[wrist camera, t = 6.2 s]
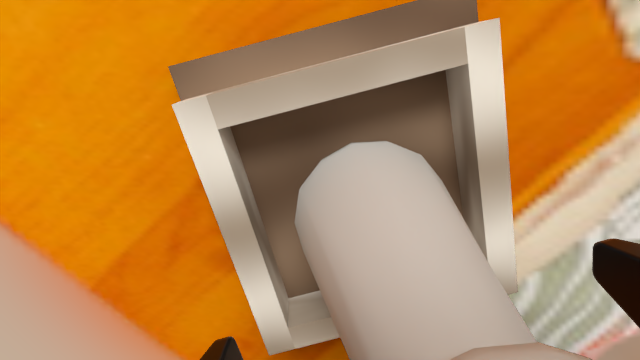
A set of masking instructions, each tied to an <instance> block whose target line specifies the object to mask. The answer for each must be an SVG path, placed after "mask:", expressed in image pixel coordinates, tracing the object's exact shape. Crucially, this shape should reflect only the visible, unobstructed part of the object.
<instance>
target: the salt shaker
mask: <svg viewBox="0 0 640 360" xmlns="http://www.w3.org/2000/svg"><path fill="white" fill-rule="evenodd" d="M294 223H295V226H296V229H297V233H298V236H299V239H300V242H301V245H302V249H303V252H304V254H305V257H306V259H307V261H308V264H309V266H310V268H311V271H312V273H313V275H314V278H315V280H316V282H317V284H318V287H319V289H320V291H321V294H322V296H323V298H324V301H325V303H326V305H327V308H328V310H329V312H330V315H331V317H332V319H333V322H334V324H335V326H336V329H337V331H338V333H339V336H340V338H341V340H342V343H343V345H344V347H345V350H346V352H347V354H348V357H349V359H350V360H592V359H590V358H588V357H584V356H581V355H578V354H575V353H571V352H568V351H565V350H562V349H558V348H555V347H552V346H549V345H545V344H542V343H539V342H537V341H536V340H535V338H534V336H533V335H532V333H531V332H530V330H529V328H528V327H527V325H526V323H525V322H524V320H523V319H522V317H521V315H520V314H519V312H518V311H517V309H516V307H515V306H514V304H513V302H512V301H511V299H510V298H509V296H508V294H507V293H506V291H505V289H504V288H503V286H502V285H501V283H500V281H499V280H498V278H497V277H496V275H495V273H494V271H493V270H492V268H491V266H490V264H489V263H488V261H487V259H486V257H485V256H484V254H483V252H482V250H481V249H480V247H479V245H478V243H477V242H476V240H475V238H474V236H473V235H472V233H471V231H470V229H469V227H468V226H467V224H466V222H465V220H464V219H463V217H462V215H461V213H460V212H459V210H458V208H457V206H456V205H455V203H454V201H453V199H452V198H451V196H450V194H449V192H448V191H447V189H446V187H445V185H444V184H443V182H442V180H441V179H440V178H439V176H438V175H437V174H436V173H435V171H434V170H433V169H432V168H431V166H430V165H429V164H428V163H427V161H426V160H425V159H424V158H423V156H422V155H420V154H418V153H415V152H413V151H410V150H408V149H406V148H403V147H401V146H398V145H396V144H393V143H391V142H388V141H375V142H356V143H350V144H348V145H346V146H345V147H343V148H341V149H339V150H338V151H336V152H334V153H332V154H330V155H329V156H327V157H325V158H323V159H322V160H321V161H320V162H319V163H318V165H317V166H316V167H315V169H314V170H313V171H312V173H311V174H310V175H309V176H308V178H307V179H306V180H305V182H304V183H303V184H302V186H301V187H300V189H299V194H298V201H297V208H296V215H295V222H294Z"/></svg>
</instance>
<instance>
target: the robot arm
mask: <svg viewBox="0 0 640 360" xmlns="http://www.w3.org/2000/svg"><path fill="white" fill-rule="evenodd" d="M592 270H593V275H594V277H595V279H596V280H597V282H598V283H599V284H600V285H601V286H602V287H603V288H604V289H605V290H606V292H607V293H608V294H609V295H610V296H611V297H612V298H613V299H614V300H615V301H616V303H617V304H618V305H619V306H620V307H621V308H622V309H623V310H624V311H625V312H626V314H627V315H628V316H629V317H630V318H631V319H632V320H633V321H634V322H635V323H636V325H637V326H638V327H639V328H640V244H638V243H633V242H629V241H624V240H619V239H607V240H604V241H600V242H597V243H595V244H594V246H593V267H592ZM200 360H243V358H242V356H241V353H240V351H239V348H238V346H237V344H236V341H235V339H234V338H233V337H225V338H221V339H218V340H216V341H215V342H214V343H213V344H212V345H211V346H210V347H209V349H208V350H207V351H206V352H205V354H204V355H203V356H202V357H201V359H200Z"/></svg>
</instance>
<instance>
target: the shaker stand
mask: <svg viewBox="0 0 640 360" xmlns="http://www.w3.org/2000/svg"><path fill="white" fill-rule="evenodd" d="M169 70H170V73H171V75H172V78H173V81H174V83H175V86H176V89H177V91H178V94H179V97H180V99H181V101H180V102H177V103H175V104H172V107H173V109H174V112H175V114H176V117H177V120H178V122H179V125H180V127H181V130H182V132H183V135H184V138H185V140H186V143H187V145H188V148H189V150H190V153H191V156H192V158H193V161H194V163H195V166H196V168H197V171H198V174H199V176H200V179H201V181H202V184H203V186H204V189H205V192H206V194H207V197H208V199H209V202H210V204H211V207H212V210H213V212H214V215H215V217H216V220H217V222H218V225H219V228H220V230H221V233H222V235H223V238H224V240H225V243H226V245H227V248H228V251H229V253H230V256H231V258H232V261H233V263H234V266H235V269H236V271H237V274H238V276H239V279H240V281H241V284H242V287H243V289H244V292H245V294H246V297H247V299H248V302H249V305H250V307H251V310H252V312H253V315H254V317H255V320H256V323H257V325H258V328H259V330H260V333H261V335H262V338H263V341H264V343H265V346H266V348H267V351H268V353H269V355H273V354H277V353H281V352H285V351H289V350H293V349H296V348H300V347H304V346H308V345H312V344H316V343H320V342H324V341H328V340H332V339H336V338H340V336H339V333H338V331H337V329H336V326H335V324H334V322H333V319H332V317H331V315H330V312H329V310H328V308H327V305H326V303H325V301H324V298H323V296H322V294H321V291H320V289H319V287H318V284H317V282H316V280H315V278H314V275H313V273H312V271H311V268H310V266H309V264H308V261H307V259H306V257H305V254H304V252H303V249H302V245H301V242H300V239H299V236H298V233H297V229H296V226H295V223H294V222H295V215H296V208H297V201H298V194H299V189H300V187H301V186H302V184H303V183H304V182H305V180H306V179H307V178H308V176H309V175H310V174H311V173H312V171H313V170H314V169H315V167H316V166H317V165H318V163H319V162H320V161H321V160H322V159H323V158H325V157H327V156H329V155H330V154H332V153H334V152H336V151H338V150H339V149H341V148H343V147H345V146H346V145H348V144H350V143H356V142H375V141H388V142H391V143H393V144H396V145H398V146H401V147H403V148H406V149H408V150H410V151H413V152H415V153H418V154H420V155H422V156H423V158H424V159H425V160H426V161H427V163H428V164H429V165H430V166H431V168H432V169H433V170H434V171H435V173H436V174H437V175H438V176H439V178H440V179H441V180H442V182H443V184H444V185H445V187H446V189H447V191H448V192H449V194H450V196H451V198H452V199H453V201H454V203H455V205H456V206H457V208H458V210H459V212H460V213H461V215H462V217H463V219H464V220H465V222H466V224H467V226H468V227H469V229H470V231H471V233H472V235H473V236H474V238H475V240H476V242H477V243H478V245H479V247H480V249H481V250H482V252H483V254H484V256H485V257H486V259H487V261H488V263H489V264H490V266H491V268H492V270H493V271H494V273H495V275H496V277H497V278H498V280H499V281H500V283H501V285H502V286H503V288H504V289H505V291H506V293H507V294H512V293H516V292H518V287H517V272H516V258H515V243H514V228H513V213H512V198H511V183H510V168H509V153H508V138H507V123H506V108H505V93H504V78H503V63H502V48H501V33H500V19H499V18H496V19H491V20H486V21H481V22H478V12H477V0H417V1H413V2H409V3H405V4H402V5H398V6H394V7H390V8H387V9H383V10H379V11H375V12H372V13H368V14H364V15H360V16H357V17H353V18H349V19H345V20H342V21H338V22H334V23H330V24H327V25H323V26H319V27H315V28H311V29H308V30H304V31H300V32H296V33H293V34H289V35H285V36H281V37H278V38H274V39H270V40H266V41H263V42H259V43H255V44H251V45H248V46H244V47H240V48H236V49H233V50H229V51H225V52H221V53H218V54H214V55H210V56H206V57H202V58H199V59H195V60H191V61H187V62H184V63H180V64H176V65H172V66H169Z"/></svg>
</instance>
